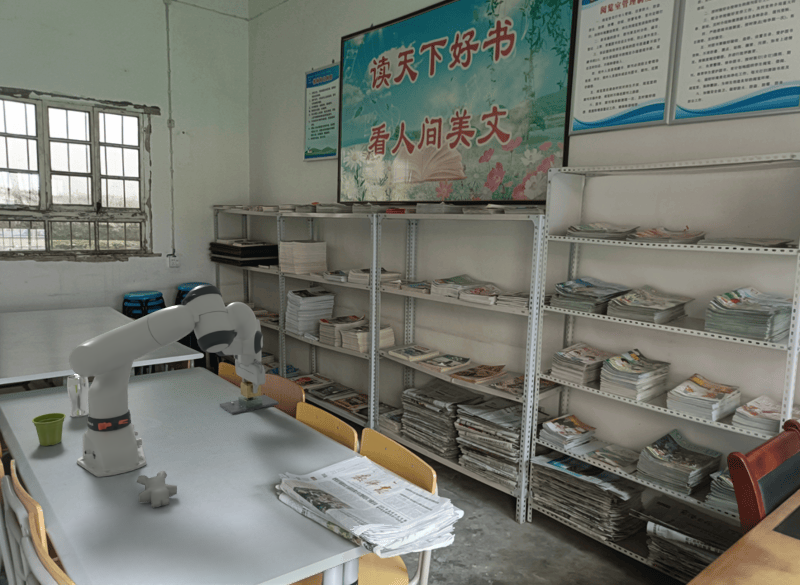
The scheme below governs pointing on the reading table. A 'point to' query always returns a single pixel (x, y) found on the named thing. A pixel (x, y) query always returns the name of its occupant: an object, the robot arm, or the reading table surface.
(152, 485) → the grey chunky knobbed piece
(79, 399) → the beer glass
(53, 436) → the plant pot
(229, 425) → the reading table surface
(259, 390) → the tan square sleeve
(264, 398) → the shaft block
